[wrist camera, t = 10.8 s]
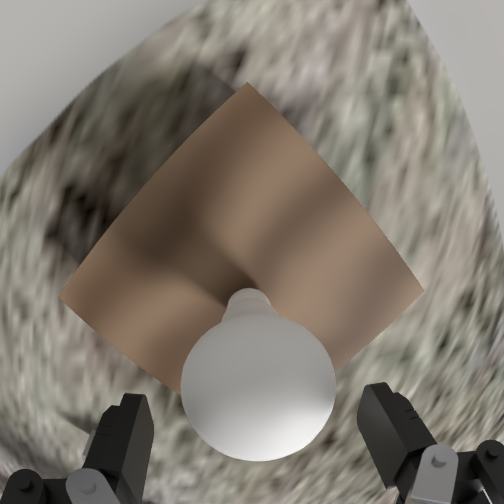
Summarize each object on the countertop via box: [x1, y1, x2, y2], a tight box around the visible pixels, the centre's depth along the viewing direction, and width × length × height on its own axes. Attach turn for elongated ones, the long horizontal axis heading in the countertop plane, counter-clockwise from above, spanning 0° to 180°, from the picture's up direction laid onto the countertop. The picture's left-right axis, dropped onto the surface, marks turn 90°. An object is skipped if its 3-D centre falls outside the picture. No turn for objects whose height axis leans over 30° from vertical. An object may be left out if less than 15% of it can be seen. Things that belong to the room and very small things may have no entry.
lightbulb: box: [180, 288, 336, 461], centre depth 14 cm, size 6×6×11 cm
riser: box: [58, 82, 424, 395], centre depth 22 cm, size 18×18×5 cm
